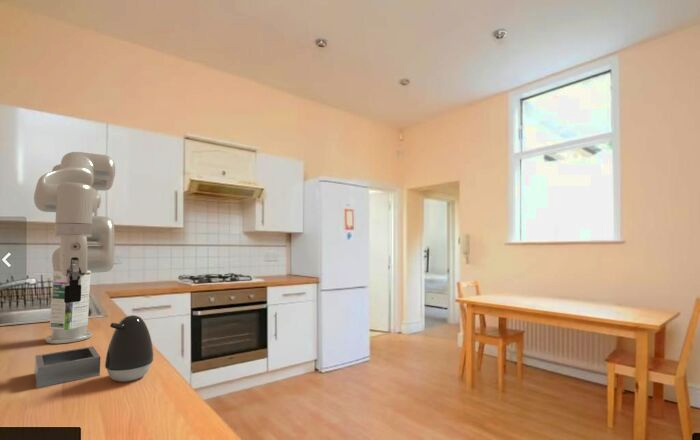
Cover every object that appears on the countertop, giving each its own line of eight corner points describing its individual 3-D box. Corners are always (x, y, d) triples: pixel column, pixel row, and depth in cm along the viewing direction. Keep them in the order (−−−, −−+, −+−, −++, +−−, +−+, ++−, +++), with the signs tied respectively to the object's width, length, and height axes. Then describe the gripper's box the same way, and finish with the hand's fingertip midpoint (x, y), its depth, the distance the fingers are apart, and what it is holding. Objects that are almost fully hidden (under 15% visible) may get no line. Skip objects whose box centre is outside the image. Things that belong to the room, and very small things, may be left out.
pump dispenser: (93, 382, 86) (96, 318, 87) (132, 368, 96) (135, 310, 97) (124, 389, 83) (126, 321, 83) (162, 373, 92) (164, 313, 93)
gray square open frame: (34, 373, 92) (35, 355, 92) (92, 362, 100) (92, 346, 100) (36, 388, 83) (37, 368, 83) (99, 375, 91) (100, 356, 91)
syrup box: (48, 329, 90) (51, 270, 90) (71, 324, 95) (73, 268, 96) (67, 331, 88) (70, 271, 89) (89, 325, 94) (91, 269, 95)
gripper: (96, 230, 89) (93, 302, 88) (86, 231, 102) (83, 294, 101) (58, 230, 84) (54, 306, 83) (52, 231, 97) (49, 297, 96)
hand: (70, 299), depth 92 cm, fingers closed on syrup box, 8 cm apart
